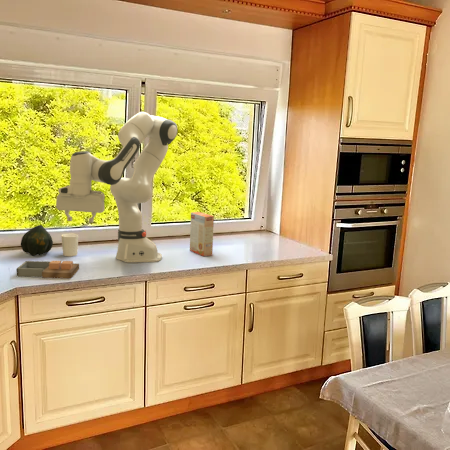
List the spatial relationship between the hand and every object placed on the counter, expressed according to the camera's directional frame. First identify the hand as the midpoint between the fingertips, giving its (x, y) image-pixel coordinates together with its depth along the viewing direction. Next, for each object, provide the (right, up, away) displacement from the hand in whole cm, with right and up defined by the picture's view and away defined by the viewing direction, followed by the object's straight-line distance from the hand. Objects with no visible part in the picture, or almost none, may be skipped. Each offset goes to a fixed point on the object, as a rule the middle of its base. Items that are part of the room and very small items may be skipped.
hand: (80, 221), depth 207 cm
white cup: (-15, -16, +31) cm, 38 cm away
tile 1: (-11, -20, +1) cm, 23 cm away
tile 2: (-6, -20, +1) cm, 21 cm away
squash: (-30, -16, +30) cm, 46 cm away
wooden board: (-9, -22, +1) cm, 24 cm away
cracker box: (+50, -16, +45) cm, 69 cm away
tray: (-20, -22, +1) cm, 30 cm away
